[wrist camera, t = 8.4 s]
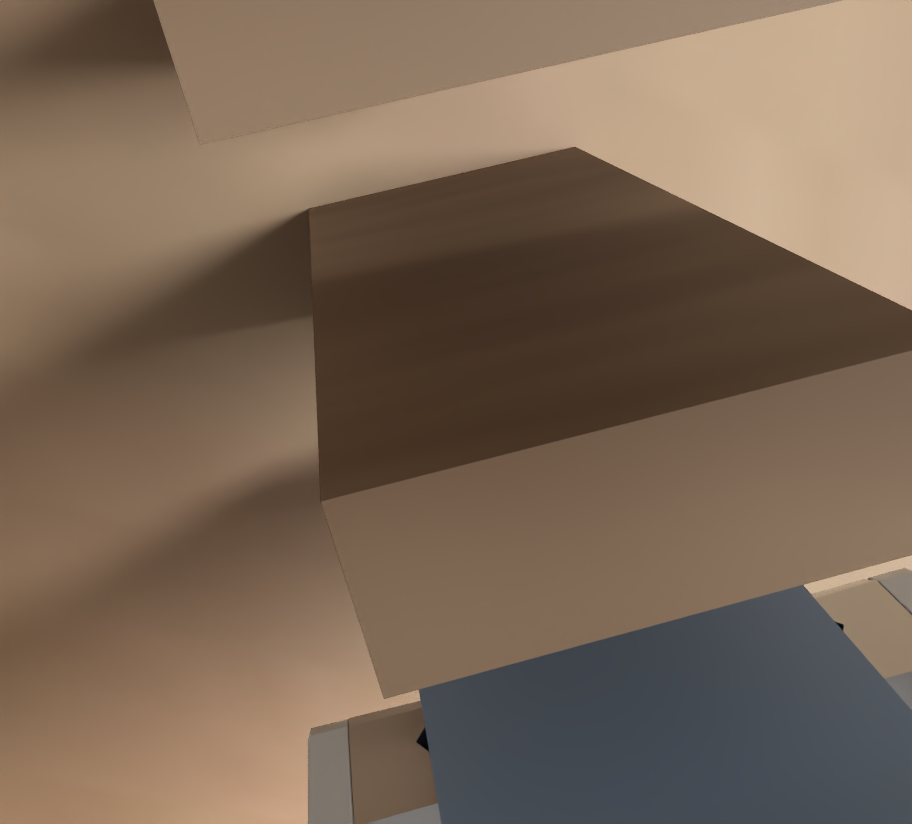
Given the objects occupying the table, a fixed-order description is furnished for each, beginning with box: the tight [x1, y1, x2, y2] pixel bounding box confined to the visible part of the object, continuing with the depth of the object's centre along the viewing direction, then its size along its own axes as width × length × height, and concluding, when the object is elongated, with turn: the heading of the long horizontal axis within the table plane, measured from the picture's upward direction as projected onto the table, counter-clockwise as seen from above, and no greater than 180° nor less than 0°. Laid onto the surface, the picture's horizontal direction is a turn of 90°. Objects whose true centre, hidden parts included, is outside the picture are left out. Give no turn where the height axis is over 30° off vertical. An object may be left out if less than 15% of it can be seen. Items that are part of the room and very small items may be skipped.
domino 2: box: [309, 147, 912, 699], centre depth 11 cm, size 2×5×10 cm, turn 101°
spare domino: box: [419, 585, 912, 824], centre depth 11 cm, size 2×5×10 cm, turn 101°
